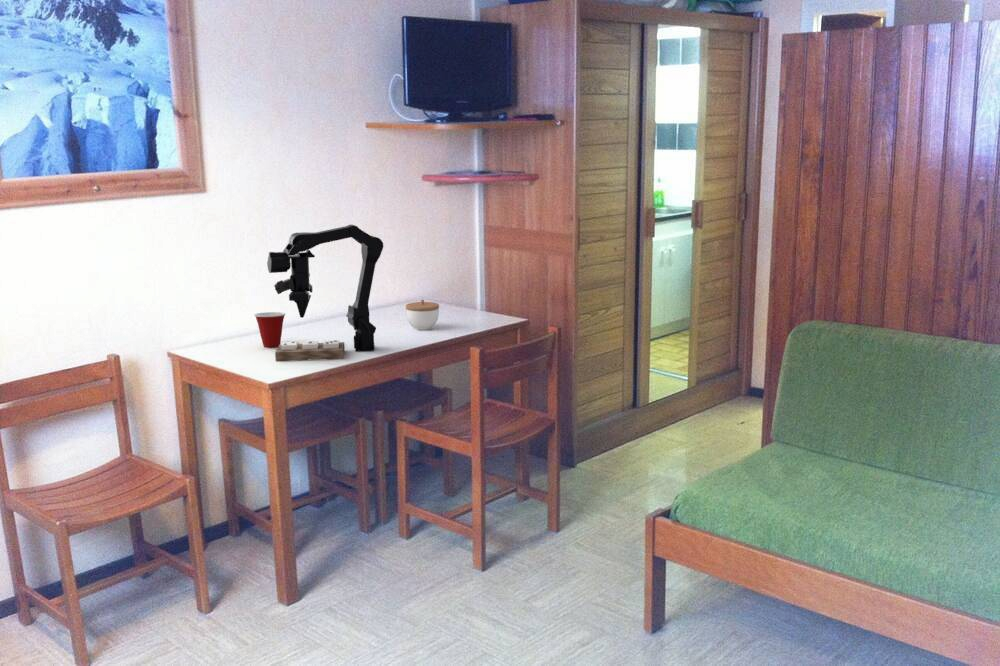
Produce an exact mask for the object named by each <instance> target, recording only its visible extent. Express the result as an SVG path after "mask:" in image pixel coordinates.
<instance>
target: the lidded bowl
mask: <svg viewBox="0 0 1000 666" xmlns="http://www.w3.org/2000/svg"><path fill="white" fill-rule="evenodd" d="M405 309H406V310H405V311H406V318H407V319H406V320H407V321H408V323H409V325H410V326H411V327H412V328H413V330H415V329H418V330H417V331H428V329H429V330H432V329H433V327H434V326H435V325H436V324H437V322H438V319H439V316H440V304H439V303H436V302H431V301H425V299H420V301H416V302H410V303H407V304H406V305H405ZM431 328H432V329H431Z"/></svg>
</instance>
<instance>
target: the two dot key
mask: <svg viewBox="0 0 1000 666" xmlns="http://www.w3.org/2000/svg"><path fill="white" fill-rule="evenodd" d="M280 344H281V350H297V347H298V344H299V342H298V341H282V342H281V343H280Z"/></svg>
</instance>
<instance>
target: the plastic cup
mask: <svg viewBox="0 0 1000 666" xmlns="http://www.w3.org/2000/svg"><path fill="white" fill-rule="evenodd" d="M253 316H254V317H255V319H256V323H257V325H258V331H259V334H260V338H261V342H262V345H263V347H264V348H267V349H268V348H269V349H272V348H273V349H274V348H278V346H279V344H282V342H281V340H282V334H283V324H284V320H285V316H286V312H280V311H278V312H277V311H273V312H272V311H270V312H269V311H267V312H259V313H258V312H257V313H255V314H253Z"/></svg>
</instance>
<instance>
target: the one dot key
mask: <svg viewBox="0 0 1000 666" xmlns="http://www.w3.org/2000/svg"><path fill="white" fill-rule="evenodd" d="M318 343H319V340H310V341H309V340H307V341H306V340H305V341H303V342H302V343H301V344H302V349H318V346H319V344H318Z"/></svg>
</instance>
